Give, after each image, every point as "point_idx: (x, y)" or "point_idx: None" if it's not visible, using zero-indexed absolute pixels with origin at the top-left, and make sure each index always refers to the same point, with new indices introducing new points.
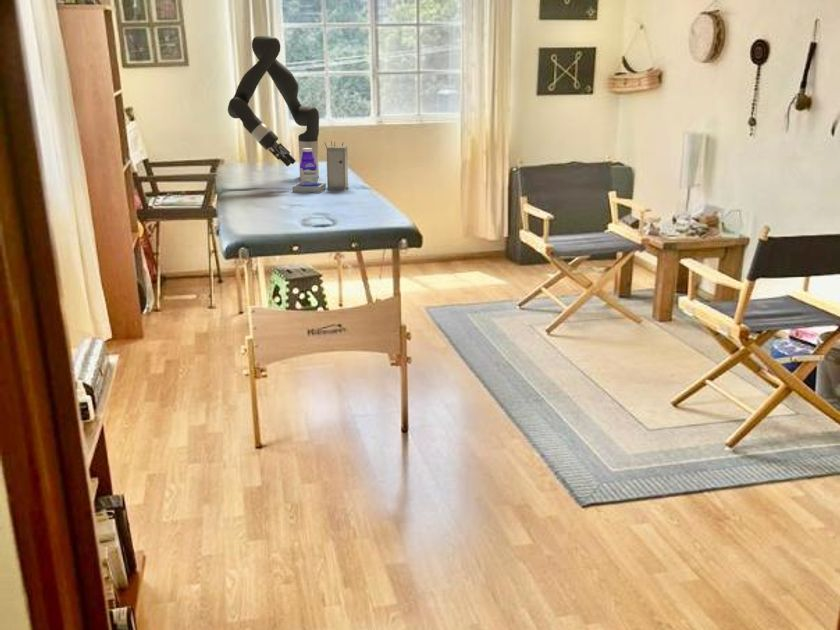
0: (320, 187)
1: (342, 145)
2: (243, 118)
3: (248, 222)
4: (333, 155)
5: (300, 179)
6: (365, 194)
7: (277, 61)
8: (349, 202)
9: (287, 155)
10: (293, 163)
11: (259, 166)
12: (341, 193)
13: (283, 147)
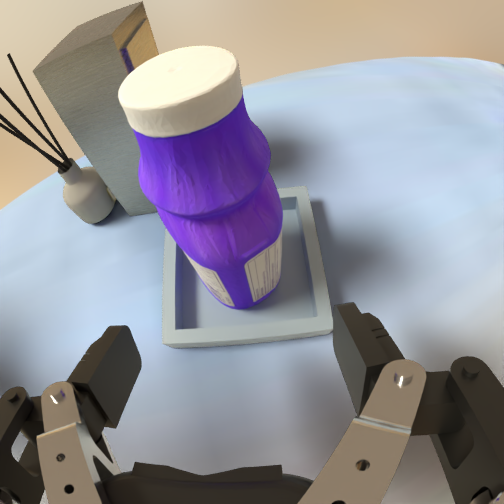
0: (291, 189)
1: (15, 67)
2: None
3: None
4: (142, 55)
5: (254, 293)
6: (283, 86)
7: None
8: (426, 101)
9: (88, 414)
10: (135, 350)
11: None
12: (288, 135)
13: (45, 483)
